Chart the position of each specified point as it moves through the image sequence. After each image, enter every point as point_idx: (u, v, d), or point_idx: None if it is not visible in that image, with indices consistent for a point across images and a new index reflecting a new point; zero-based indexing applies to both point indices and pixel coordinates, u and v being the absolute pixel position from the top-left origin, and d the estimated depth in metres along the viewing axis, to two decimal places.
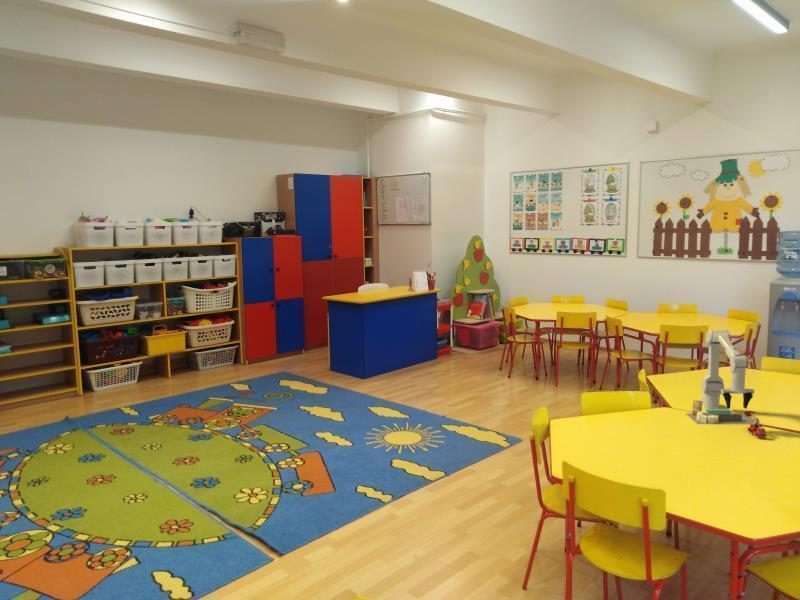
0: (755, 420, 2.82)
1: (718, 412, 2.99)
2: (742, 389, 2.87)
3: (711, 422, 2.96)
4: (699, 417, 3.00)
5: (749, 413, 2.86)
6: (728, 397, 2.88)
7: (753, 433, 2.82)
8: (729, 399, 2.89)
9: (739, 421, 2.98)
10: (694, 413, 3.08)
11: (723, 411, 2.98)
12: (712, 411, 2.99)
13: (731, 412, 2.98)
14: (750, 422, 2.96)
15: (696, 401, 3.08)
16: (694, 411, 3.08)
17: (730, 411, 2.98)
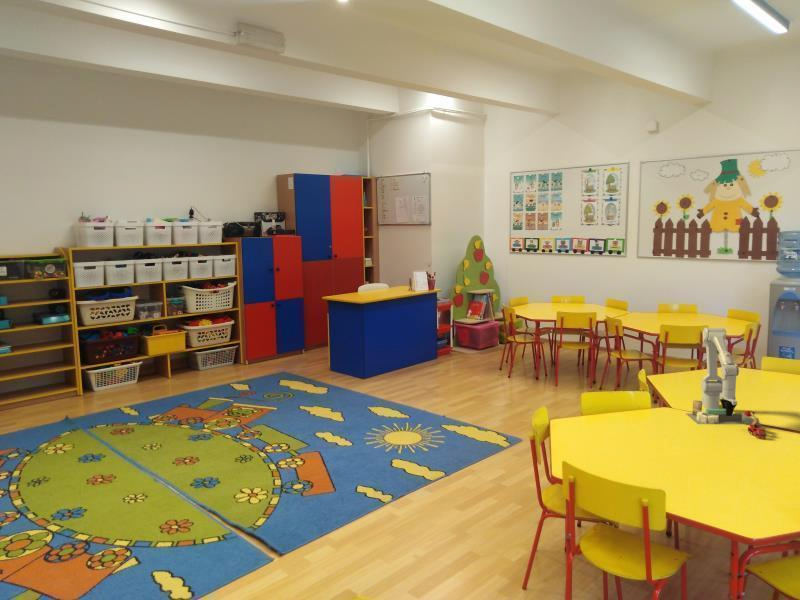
0: (755, 420, 2.82)
1: (718, 412, 2.99)
2: (724, 395, 2.97)
3: (711, 422, 2.96)
4: (699, 417, 3.00)
5: (749, 413, 2.86)
6: (720, 401, 3.02)
7: (753, 433, 2.82)
8: (722, 403, 3.01)
9: (739, 421, 2.98)
10: (694, 413, 3.08)
11: (723, 411, 2.98)
12: (712, 411, 2.99)
13: None
14: (750, 422, 2.96)
15: (696, 401, 3.08)
16: (694, 411, 3.08)
17: None
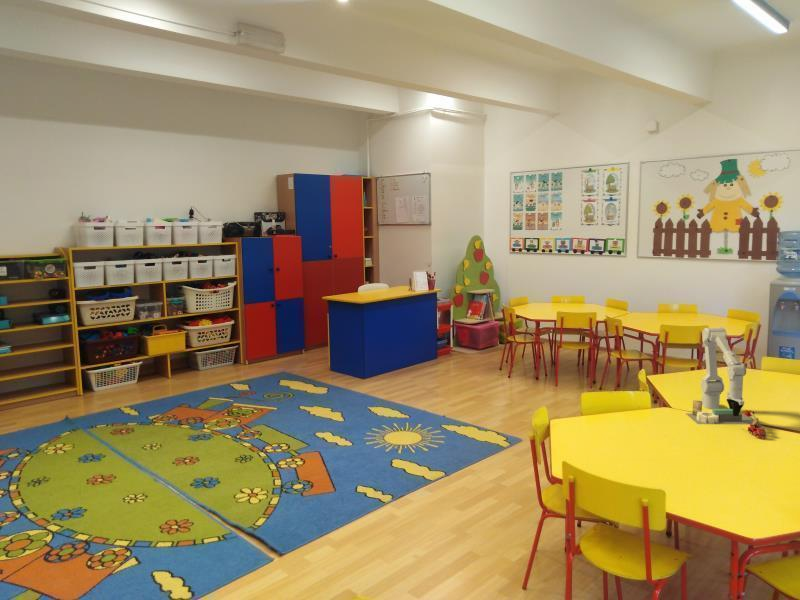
0: (755, 420, 2.82)
1: (725, 412, 2.98)
2: (730, 395, 2.97)
3: (711, 422, 2.96)
4: (699, 417, 3.00)
5: (749, 413, 2.86)
6: (727, 401, 3.02)
7: (753, 433, 2.82)
8: (728, 403, 3.01)
9: (739, 421, 2.98)
10: (694, 413, 3.08)
11: (730, 411, 2.98)
12: (719, 411, 2.99)
13: None
14: (750, 422, 2.96)
15: (696, 401, 3.08)
16: (694, 411, 3.08)
17: None
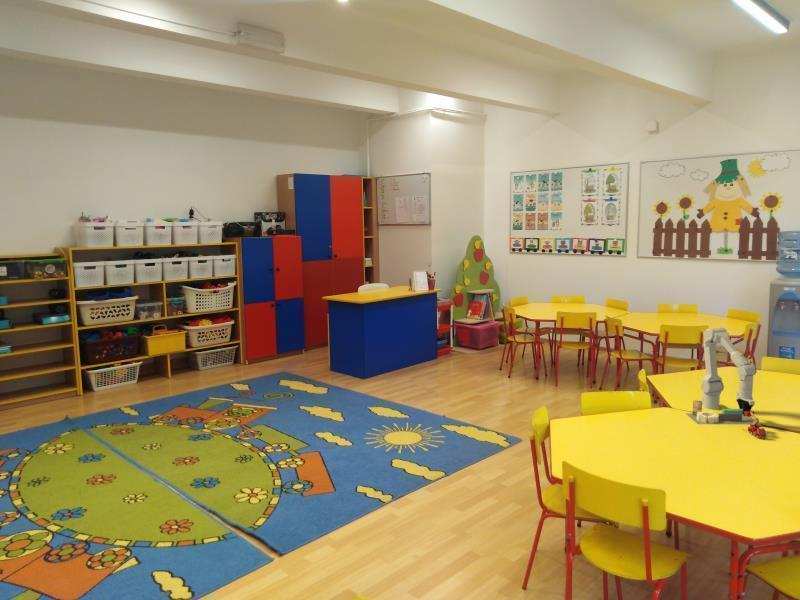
0: (755, 420, 2.82)
1: (734, 412, 2.98)
2: (741, 395, 2.97)
3: (711, 422, 2.96)
4: (699, 417, 3.00)
5: (749, 413, 2.86)
6: (737, 401, 3.01)
7: (753, 433, 2.82)
8: (738, 404, 3.00)
9: (739, 421, 2.98)
10: (694, 413, 3.08)
11: (740, 411, 2.98)
12: (728, 411, 2.98)
13: None
14: (750, 422, 2.96)
15: (696, 401, 3.08)
16: (694, 411, 3.08)
17: None
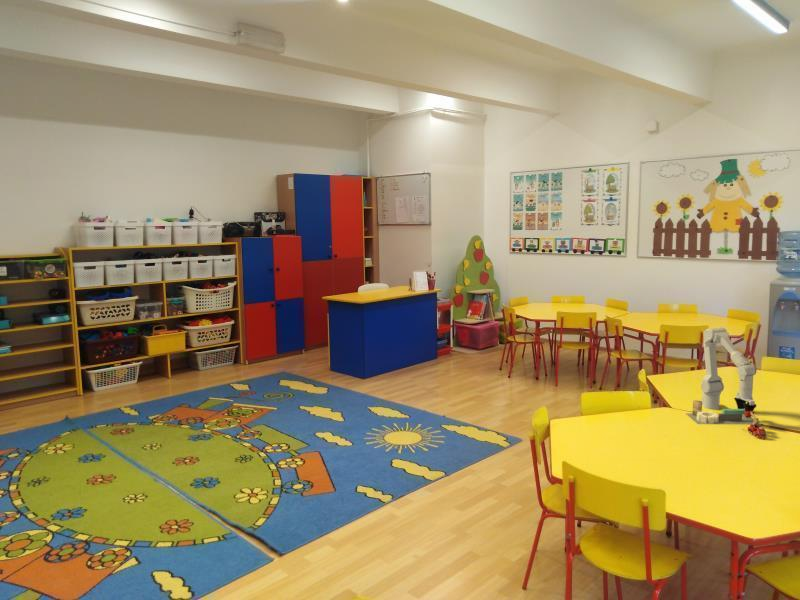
0: (755, 420, 2.82)
1: (734, 412, 2.98)
2: (741, 395, 2.97)
3: (711, 422, 2.96)
4: (699, 417, 3.00)
5: (749, 413, 2.86)
6: (735, 400, 3.03)
7: (753, 433, 2.82)
8: (736, 402, 3.03)
9: (739, 421, 2.98)
10: (694, 413, 3.08)
11: (740, 411, 2.98)
12: (728, 411, 2.98)
13: None
14: (750, 422, 2.96)
15: (696, 401, 3.08)
16: (694, 411, 3.08)
17: None
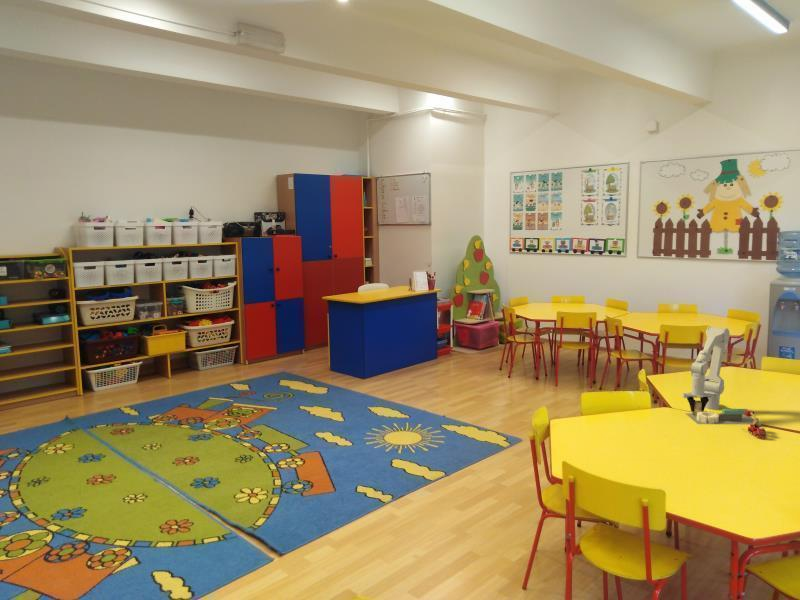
0: (755, 420, 2.82)
1: (734, 412, 2.98)
2: (702, 393, 3.05)
3: (711, 422, 2.96)
4: (699, 417, 3.00)
5: (749, 413, 2.86)
6: (692, 401, 3.06)
7: (753, 433, 2.82)
8: (693, 403, 3.06)
9: (739, 421, 2.98)
10: (694, 413, 3.08)
11: (740, 411, 2.98)
12: (728, 411, 2.98)
13: None
14: (750, 422, 2.96)
15: (696, 401, 3.08)
16: (694, 411, 3.08)
17: None
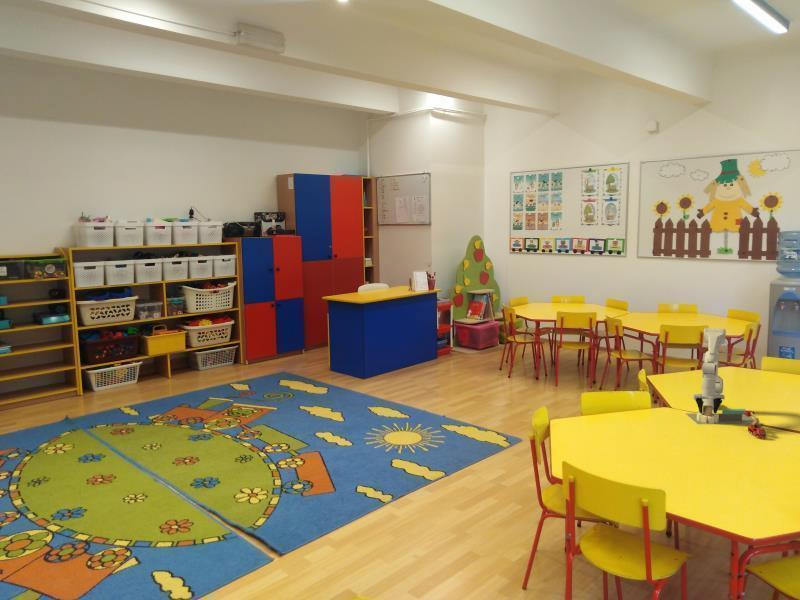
0: (755, 420, 2.82)
1: (734, 412, 2.98)
2: (713, 395, 2.96)
3: (711, 422, 2.96)
4: (699, 417, 3.00)
5: (749, 413, 2.86)
6: (700, 402, 2.98)
7: (753, 433, 2.82)
8: (701, 404, 2.98)
9: (739, 421, 2.98)
10: None
11: (740, 411, 2.98)
12: (728, 411, 2.98)
13: None
14: (750, 422, 2.96)
15: (706, 406, 3.00)
16: None
17: None
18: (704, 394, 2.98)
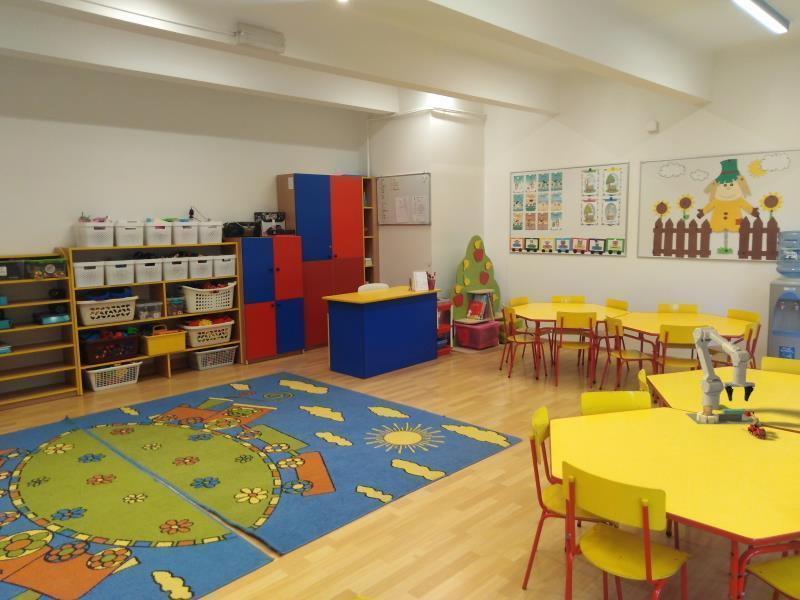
0: (755, 420, 2.82)
1: (734, 412, 2.98)
2: (743, 382, 2.98)
3: (711, 422, 2.96)
4: (699, 417, 3.00)
5: (749, 413, 2.86)
6: (730, 390, 2.99)
7: (753, 433, 2.82)
8: (731, 392, 3.00)
9: (739, 421, 2.98)
10: None
11: (740, 411, 2.98)
12: (728, 411, 2.98)
13: None
14: (750, 422, 2.96)
15: (706, 406, 3.00)
16: None
17: None
18: (735, 382, 3.00)
